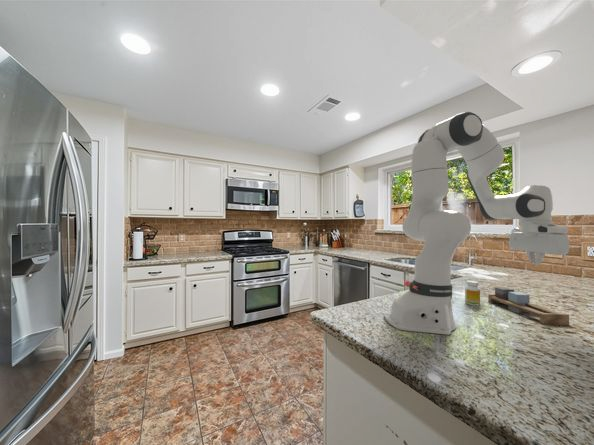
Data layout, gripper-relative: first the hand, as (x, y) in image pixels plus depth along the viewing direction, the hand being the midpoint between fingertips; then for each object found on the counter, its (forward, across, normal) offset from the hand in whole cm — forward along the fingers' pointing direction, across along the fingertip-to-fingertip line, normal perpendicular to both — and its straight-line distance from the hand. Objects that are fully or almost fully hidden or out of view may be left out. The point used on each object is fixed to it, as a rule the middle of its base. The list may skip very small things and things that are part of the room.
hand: (535, 264), depth 93 cm
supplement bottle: (+20, -13, -14) cm, 28 cm away
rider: (+18, -6, 0) cm, 19 cm away
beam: (+20, -4, 0) cm, 20 cm away
